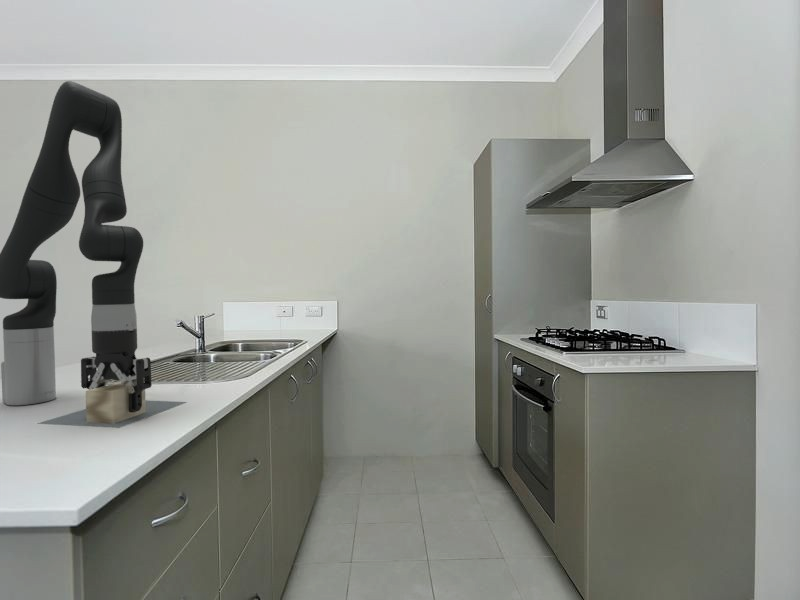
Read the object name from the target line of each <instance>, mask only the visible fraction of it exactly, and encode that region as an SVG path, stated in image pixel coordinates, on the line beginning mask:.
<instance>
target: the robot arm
mask: <svg viewBox="0 0 800 600" xmlns="http://www.w3.org/2000/svg"><path fill="white" fill-rule="evenodd" d="M47 121H48V123H47V125H46V126H47V127H46V130H45V132H44V138H43V141H42V145H41V148H40V152H39V155H38V157H37V160H36V162H35V165H34V168H33V169H32V172H31V175H30V177H29V180H28V181H27V184H26V188H25V191H24V193H23V197H22V199H21V203H20V206H19V209H18V213H17V215H16V217H15V220H14V224H13V226H12V229H11V231H10V232H9V235H8V238H7V239H6V242H5V243H4V245H3V248H2V249H1V251H0V299H5V300H27V304H26V305H25V307H24V308H21V309H20V310H19V311H17V312H14V313H12V314H9V315H6V316H5V317H3V319H2V334H3V335H2V340H3V361H2V362H1V364H0V369H1V371H0V373H1V396H2V397H1V400H2V401H1V403H2V404H5V405H6V406H26V405H27V406H28V405H34V404H41V403H45V402H48V401H49V402H50V401H53V400H55V399H56V398H57V391H56V390H57V388H56V387H57V385H56V382H57V381H56V357H55V356H56V355H55V329H54V328H55V327H54V326H55V325H54V324H55V323H54V321H55V317H56V314H57V289H58V287H57V285H58V284H57V273H56V270H55V268H54V266H53V265H52V263H50V262H49V261H46V260H42V259H41V260H39V259H31V257H32V256H33V255H34V253H35V251H36V250H37V249H38V248H39V247H40V246H41V245H42V244H44V243H45V242H46V241H47V240H48V239H50V238H51V237H53V236H54V235H55V234H57V233H58V232H59V231H61V230H62V229H63V228H64V227H65V226H67V225H68V224H69V223H70V221H71V220H72V218H73V216H74V213H75V210H76V208H77V205H78V204H79V200H80V197H81V190H82V196H83V203H84V218H83V224H82V228H81V231H80V234H79V240H78V248H79V251H80V253H81V254H82V255H83V257H84V258H86V259H88V260H89V261H94V262H120V266H119V267H118V269H117V270H116V271H113V272H108V273H107V272H106V273H101V274H97V275H95V276H93V277H92V280H91V303H92V308H91V316H90V317H91V318H90V319H91V320H90V323H91V325H90V326H91V352H93V353H94V354H95V356H89V357H82V358H80V379H81V380H80V383H81V385H80V386H81V388H82V389H87V390H91V389H95V388H99V387H103V386H107V385H108V382H110V381H111V380H114V381H119V382H121V383H122V384H124V385H125V386H126V387H127V389H128V391H129V392H130V394H128V397H129V412H132V413H134V412H137V411H139V410H140V409H141V407H142V391H143V390H144V389H145V390H147V389H149V388H152V365H151V359H150V357H143V358H137V356H136V354H135V353H136V351H137V349H138V328H137V327H138V325H137V321H138V320H137V318H138V317H137V311H136V306H135V305H136V304H135V302H136V300H135V282H136V281H135V280H136V274H137V269H138V267H139V263H140V259H141V257H142V253H143V250H144V237H143V235H142V234H141V232H140V231H139V230H138V229H137V228H136V227H134V226H133V227H132V226H127V225H125V226H123V225H112V224H108V223H114V222H118V221H120V220H123V219H124V218H125V217H126V215H127V212H128V211H127V210H128V209H127V204H126V203H127V202H126V196H125V192H124V191H125V190H124V184H123V179H122V144H123V142H122V141H123V135H122V134H123V130H122V128H123V121H122V112H121V108H120V105H119V104H118V103H117V101H116V100H115V99H113V98H111V97H109V96H108V95H106V94H103V93H101V92H98V91H96V90H93V89H92V88H90V87H87V86H84V85H82V84H80V83H77V82H76V81H75V82H74V81H72V80H66V81H65V82H63V83H62V84H61V85H60V86H59V88H58V90H57V91H56V94H55V96H54V99H53V102H52V105H51V110H50V114H49V118H48V120H47ZM73 131H76V132H79V133H81V134H84V135H86V136H89V137H93V138H96V139H98V141H99V147H100V148H99V150H98V153H97V154H96V155H95V156H94V158H93V159H91V161H90V162H89V163H88V165H86V167H85V169H84V170H83V174H82V175H81V176H82V177H81V187H80V183H79V179H78V177H77V174H76V171H75V168H74V166H73V163H72V160H71V155H70V150H69V149H70V148H69V146H70V140H71V136H72V132H73ZM133 384H134V385H135V386H134V385H133Z"/></svg>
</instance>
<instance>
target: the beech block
mask: <svg viewBox="0 0 800 600" xmlns="http://www.w3.org/2000/svg"><path fill="white" fill-rule="evenodd" d="M133 385H134V384H133ZM134 386H135V385H134ZM128 394H130V392H129V391H128V389H127V387H126V386H125V385H124V384H122V383H121V381H118V382H116V383H111V384H106V386H103V387H99V388H95V389H91V390H89V389H87V390H85V409H86V418H87V422H90V423H110V424H114V423H117V422H120V421H123V420H125V419H128V418H131V417H134V416H137V415H139V414H142V413H145V412H146V404H145V400H146V389H144V390H143V391H142V407H141V409H140V410H139V411H137V412H134V413H132V412H129V397H128Z"/></svg>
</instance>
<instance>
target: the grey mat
mask: <svg viewBox="0 0 800 600" xmlns="http://www.w3.org/2000/svg"><path fill="white" fill-rule="evenodd" d="M186 403H188V401H173V400H172V401H168V400H167V401H166V400H147V399H145V404H146V412H145V413H142V414H139V415H137V416H134V417H131V418H128V419H125V420H123V421H120V422H117V423H114V424H110V423H90V422H87V418H86V408H84V409H81V410H78V411H75V412H71V413H68V414H64V415H61V416H58V417H53V418H51V419H46V420H44V421H41V422H38V423H37V424H41V425H56V426H57V425H58V426H60V425H61V426H74V427H91V428H92V427H95V428H112V429H113V428H116V429H120V428H122V427H125V426H127V425H130V424H133V423H135V422H139V421H141V420H144V419H146V418H149V417H152V416H155V415H157V414H159V413H162V412H166V411H168V410H170V409H173V408H176V407H179V406H181V405H184V404H186Z"/></svg>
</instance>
